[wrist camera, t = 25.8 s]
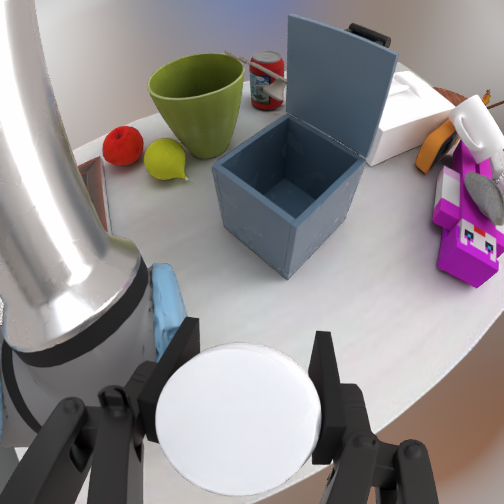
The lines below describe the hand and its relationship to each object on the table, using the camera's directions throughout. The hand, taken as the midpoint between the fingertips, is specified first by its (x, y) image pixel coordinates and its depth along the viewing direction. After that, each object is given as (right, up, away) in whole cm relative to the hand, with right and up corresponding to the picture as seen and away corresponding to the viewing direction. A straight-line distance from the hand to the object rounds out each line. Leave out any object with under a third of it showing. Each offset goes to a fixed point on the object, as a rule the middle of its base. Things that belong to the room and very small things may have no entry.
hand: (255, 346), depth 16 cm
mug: (+42, +22, +23) cm, 53 cm away
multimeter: (+36, +28, +34) cm, 57 cm away
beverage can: (+3, +37, +44) cm, 57 cm away
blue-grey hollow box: (+5, +9, +30) cm, 32 cm away
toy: (+46, +25, +34) cm, 63 cm away
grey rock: (+37, +12, +23) cm, 45 cm away
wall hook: (+13, +36, +46) cm, 60 cm away
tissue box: (+29, +31, +40) cm, 59 cm away
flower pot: (-8, +25, +38) cm, 46 cm away
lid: (+9, +23, +13) cm, 28 cm away
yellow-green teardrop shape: (-17, +24, +33) cm, 44 cm away
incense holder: (+56, +41, +41) cm, 81 cm away
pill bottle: (0, -5, +2) cm, 5 cm away
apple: (-24, +23, +38) cm, 50 cm away
